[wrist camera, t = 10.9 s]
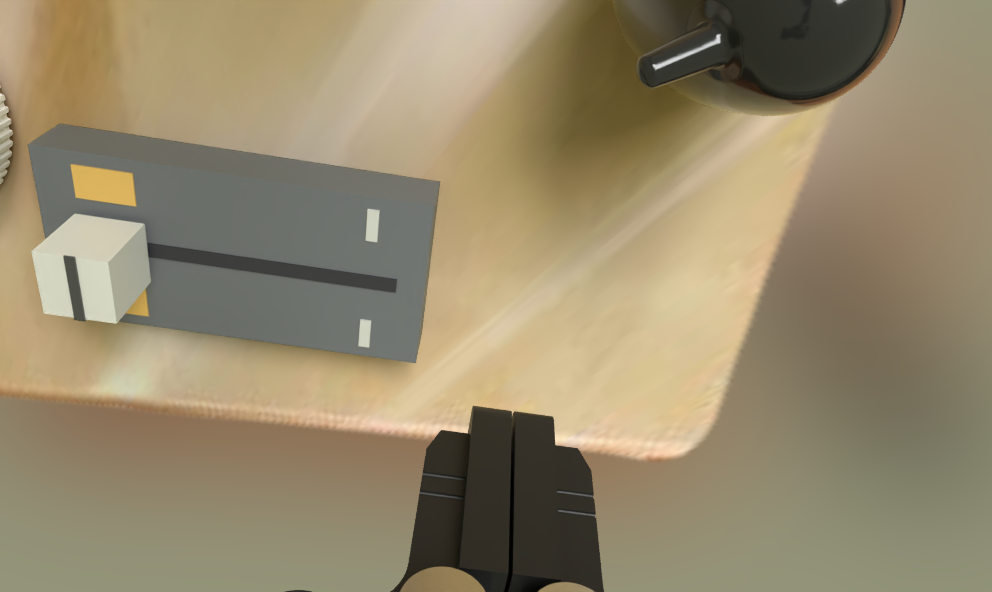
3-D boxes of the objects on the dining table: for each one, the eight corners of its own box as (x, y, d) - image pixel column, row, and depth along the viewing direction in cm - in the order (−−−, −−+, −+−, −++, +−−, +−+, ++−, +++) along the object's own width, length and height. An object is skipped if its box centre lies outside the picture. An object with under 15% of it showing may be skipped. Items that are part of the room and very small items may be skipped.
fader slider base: (59, 123, 39) (26, 145, 37) (440, 181, 41) (433, 206, 38) (86, 285, 45) (58, 313, 42) (421, 332, 46) (415, 363, 43)
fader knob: (74, 212, 38) (29, 251, 35) (144, 222, 39) (107, 262, 35) (84, 273, 40) (42, 315, 37) (151, 282, 40) (116, 325, 37)
